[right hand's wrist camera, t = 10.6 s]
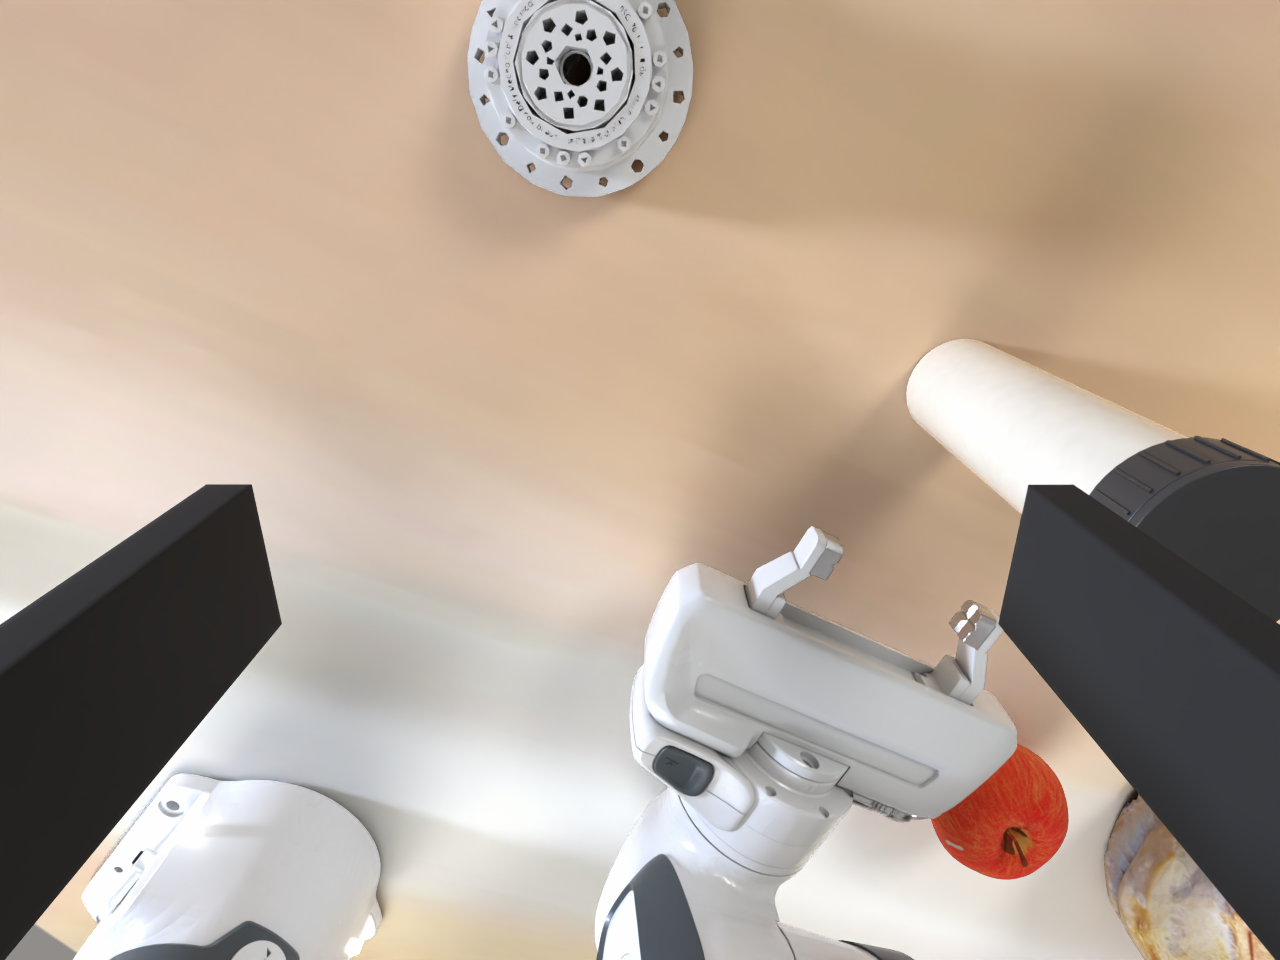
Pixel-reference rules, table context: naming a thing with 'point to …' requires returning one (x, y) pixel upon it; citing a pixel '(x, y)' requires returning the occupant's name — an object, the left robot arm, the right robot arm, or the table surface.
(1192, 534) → the lid
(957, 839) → the apple
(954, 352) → the white bottle
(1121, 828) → the bread
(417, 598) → the table surface
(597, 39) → the mechanical component
